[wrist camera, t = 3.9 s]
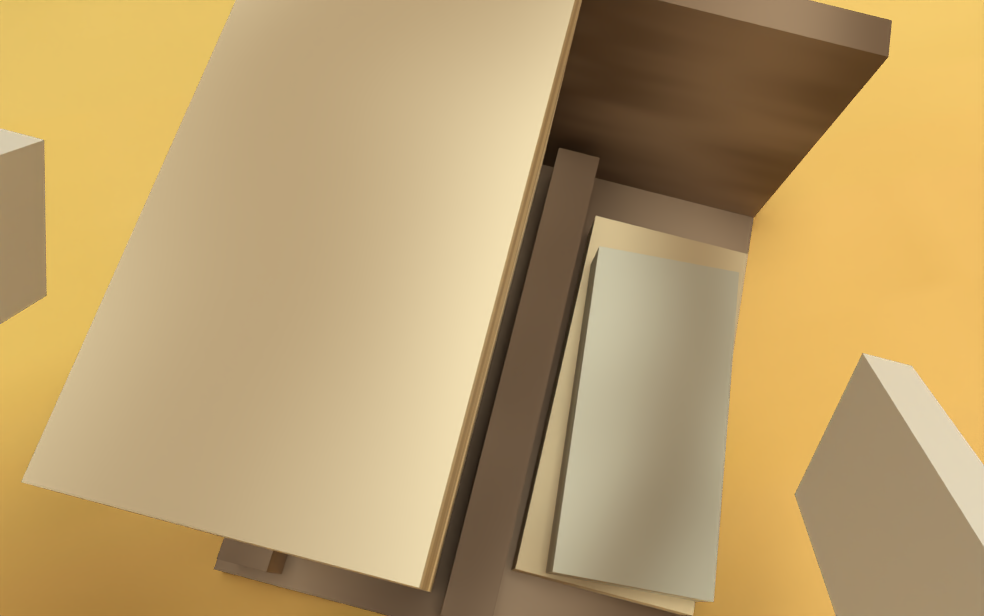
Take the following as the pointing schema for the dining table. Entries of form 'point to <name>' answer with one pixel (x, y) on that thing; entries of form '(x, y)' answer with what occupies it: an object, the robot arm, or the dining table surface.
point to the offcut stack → (637, 422)
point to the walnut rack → (629, 199)
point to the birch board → (320, 281)
